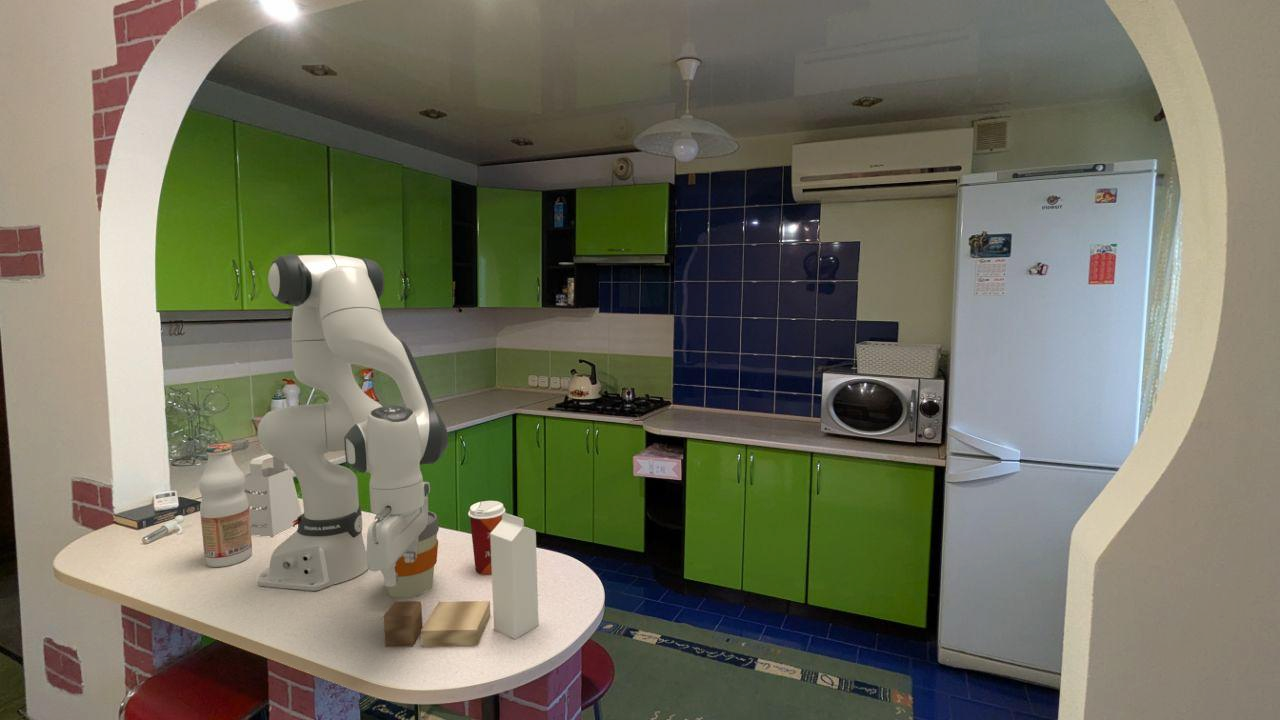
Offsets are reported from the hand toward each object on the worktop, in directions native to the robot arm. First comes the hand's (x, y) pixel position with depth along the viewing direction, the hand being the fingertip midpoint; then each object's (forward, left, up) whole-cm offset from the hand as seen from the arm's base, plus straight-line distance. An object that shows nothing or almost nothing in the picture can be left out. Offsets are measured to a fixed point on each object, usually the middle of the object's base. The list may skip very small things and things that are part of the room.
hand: (401, 572), depth 107 cm
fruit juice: (-55, +35, -13) cm, 67 cm away
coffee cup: (+9, +28, -13) cm, 32 cm away
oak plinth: (+9, +3, -13) cm, 16 cm away
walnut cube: (0, 0, -13) cm, 13 cm away
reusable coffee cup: (-6, +20, -13) cm, 25 cm away
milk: (+20, +4, -13) cm, 24 cm away
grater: (-56, +54, -13) cm, 79 cm away
